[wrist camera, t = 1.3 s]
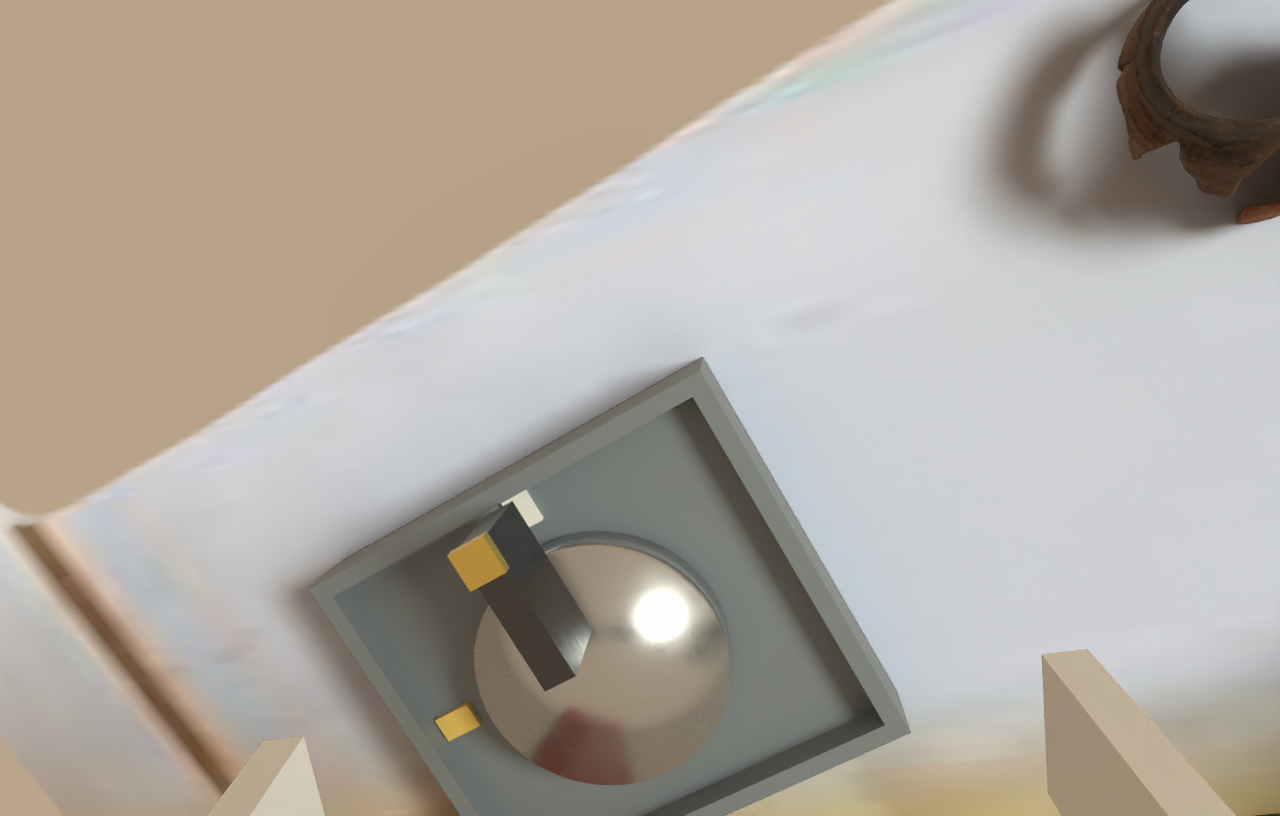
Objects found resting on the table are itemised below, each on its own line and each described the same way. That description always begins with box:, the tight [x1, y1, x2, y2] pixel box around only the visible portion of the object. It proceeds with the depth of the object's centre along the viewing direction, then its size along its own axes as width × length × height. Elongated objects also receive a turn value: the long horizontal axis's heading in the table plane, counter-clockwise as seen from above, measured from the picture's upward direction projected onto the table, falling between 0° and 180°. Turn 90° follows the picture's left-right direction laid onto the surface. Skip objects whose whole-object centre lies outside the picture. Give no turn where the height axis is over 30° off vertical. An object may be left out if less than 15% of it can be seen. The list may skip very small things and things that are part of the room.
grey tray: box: [309, 357, 911, 816], centre depth 40 cm, size 18×20×3 cm
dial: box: [447, 501, 731, 785], centre depth 37 cm, size 14×11×6 cm
